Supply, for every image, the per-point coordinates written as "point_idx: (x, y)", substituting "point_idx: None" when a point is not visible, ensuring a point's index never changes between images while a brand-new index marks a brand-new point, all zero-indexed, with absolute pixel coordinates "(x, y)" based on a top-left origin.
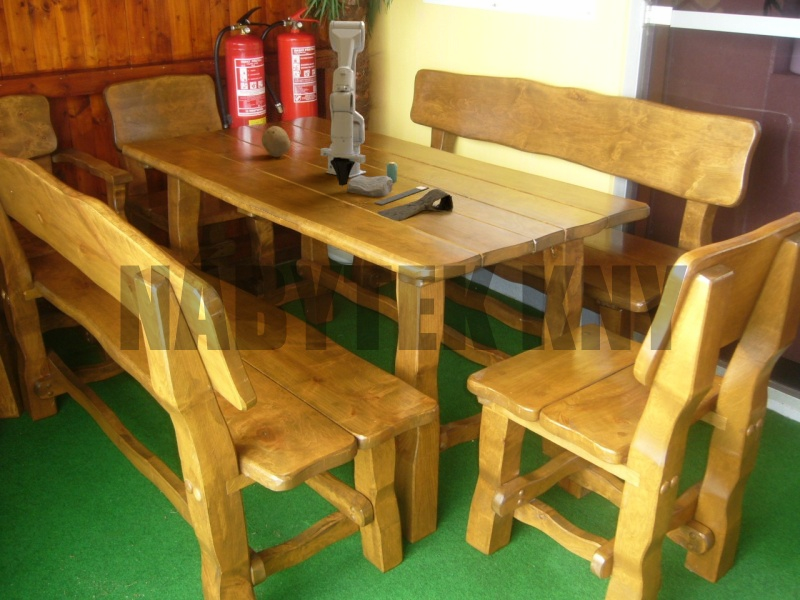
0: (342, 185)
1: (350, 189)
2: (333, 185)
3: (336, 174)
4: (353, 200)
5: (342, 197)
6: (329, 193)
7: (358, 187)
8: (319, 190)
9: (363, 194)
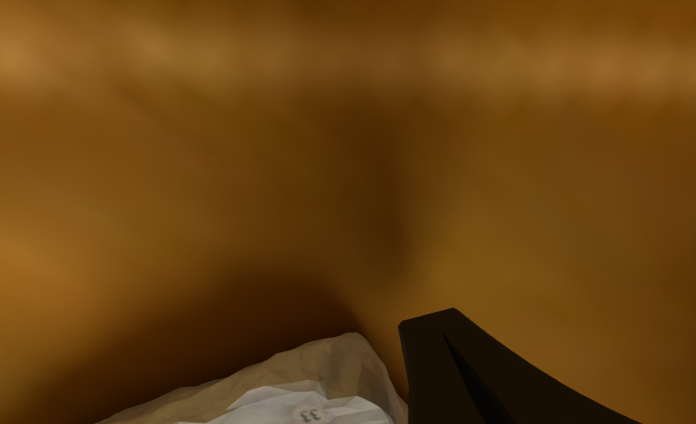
0: (402, 323)
1: (299, 348)
2: (622, 334)
3: (539, 374)
4: (7, 192)
5: (208, 162)
6: (446, 140)
7: (177, 415)
8: (614, 123)
9: (167, 395)
